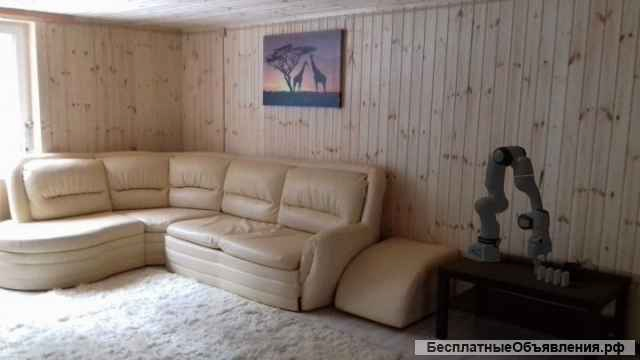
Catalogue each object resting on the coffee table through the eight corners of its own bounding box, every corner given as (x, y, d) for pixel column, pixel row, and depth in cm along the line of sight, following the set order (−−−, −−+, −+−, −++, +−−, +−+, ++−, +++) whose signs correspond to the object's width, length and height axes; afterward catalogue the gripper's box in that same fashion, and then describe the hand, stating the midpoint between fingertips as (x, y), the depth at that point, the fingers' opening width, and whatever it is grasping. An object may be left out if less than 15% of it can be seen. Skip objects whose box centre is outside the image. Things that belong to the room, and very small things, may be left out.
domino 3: (544, 281, 310) (545, 268, 309) (549, 280, 312) (549, 267, 311) (547, 282, 308) (548, 269, 307) (552, 281, 311) (553, 268, 310)
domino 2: (537, 279, 313) (537, 267, 312) (541, 278, 316) (542, 265, 315) (540, 280, 312) (541, 267, 311) (544, 278, 314) (545, 266, 314)
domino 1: (533, 273, 324) (534, 261, 323) (538, 272, 327) (538, 260, 326) (536, 274, 323) (537, 262, 322) (541, 273, 325) (541, 261, 325)
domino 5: (560, 285, 303) (561, 272, 302) (565, 284, 306) (566, 271, 305) (564, 286, 301) (565, 273, 300) (568, 285, 304) (569, 272, 303)
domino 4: (552, 283, 306) (553, 270, 305) (556, 282, 309) (557, 269, 308) (555, 284, 305) (556, 271, 304) (560, 283, 308) (561, 270, 307)
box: (569, 277, 318) (570, 264, 317) (563, 274, 323) (564, 261, 323) (579, 277, 319) (580, 264, 318) (572, 274, 325) (573, 261, 324)
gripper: (545, 234, 331) (543, 258, 332) (525, 239, 318) (524, 264, 319) (555, 236, 326) (554, 260, 328) (536, 241, 313) (535, 266, 314)
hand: (539, 262), depth 323 cm, fingers open, 8 cm apart
